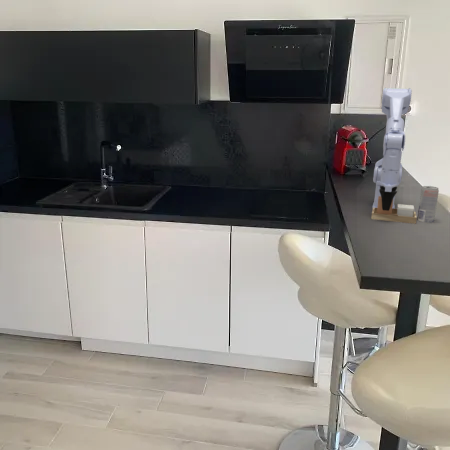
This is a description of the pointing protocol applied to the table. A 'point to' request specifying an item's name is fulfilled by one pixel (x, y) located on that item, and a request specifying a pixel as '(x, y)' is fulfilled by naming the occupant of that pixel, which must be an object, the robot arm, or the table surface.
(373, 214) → the light wooden tray
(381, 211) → the brown cardboard box
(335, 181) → the table surface
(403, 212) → the white foam cube
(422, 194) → the energy drink
